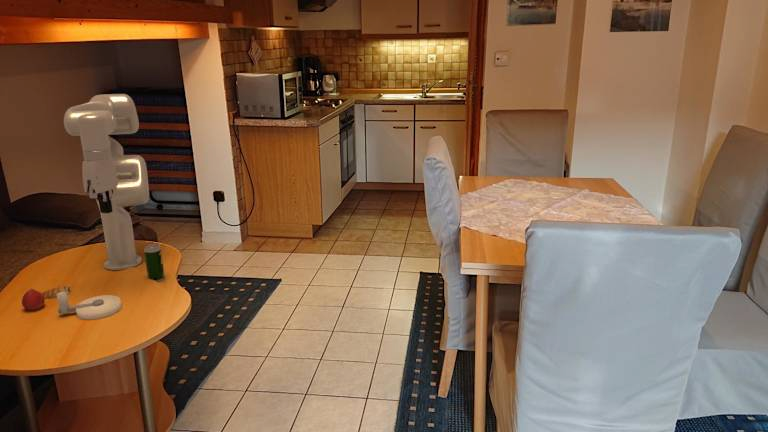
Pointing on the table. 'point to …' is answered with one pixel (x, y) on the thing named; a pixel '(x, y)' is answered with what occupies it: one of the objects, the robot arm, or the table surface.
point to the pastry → (53, 292)
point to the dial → (90, 306)
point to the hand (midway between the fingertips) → (106, 212)
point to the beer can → (154, 262)
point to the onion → (33, 300)
